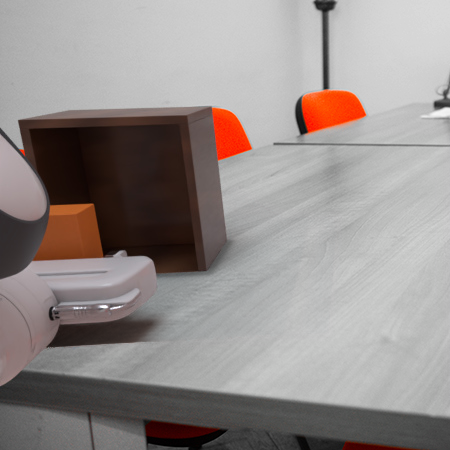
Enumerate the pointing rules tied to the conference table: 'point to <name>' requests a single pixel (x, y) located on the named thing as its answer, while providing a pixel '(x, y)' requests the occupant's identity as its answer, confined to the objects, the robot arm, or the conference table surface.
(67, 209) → the block
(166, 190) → the cubby
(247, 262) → the conference table surface
